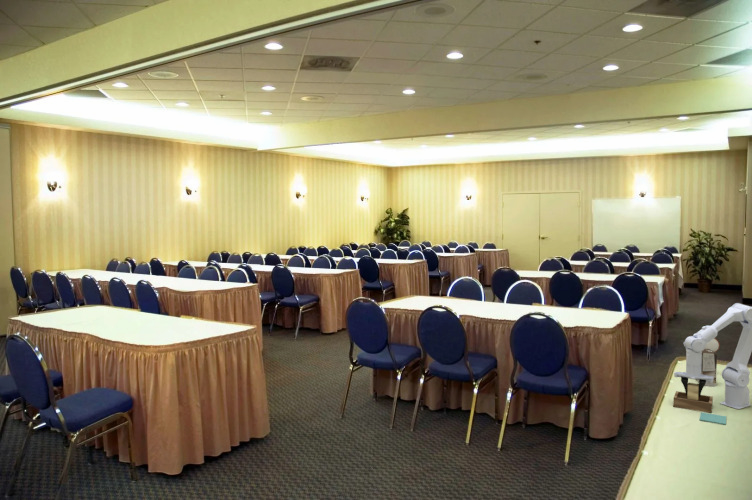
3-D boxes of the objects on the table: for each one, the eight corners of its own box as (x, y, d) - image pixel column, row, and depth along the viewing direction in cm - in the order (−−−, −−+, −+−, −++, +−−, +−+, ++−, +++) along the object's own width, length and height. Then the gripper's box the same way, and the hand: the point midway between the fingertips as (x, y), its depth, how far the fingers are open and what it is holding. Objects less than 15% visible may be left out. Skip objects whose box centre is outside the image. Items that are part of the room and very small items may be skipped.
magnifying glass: (719, 375, 276) (720, 337, 274) (718, 376, 275) (719, 337, 273) (699, 373, 281) (700, 335, 280) (699, 373, 280) (700, 335, 278)
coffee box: (716, 386, 260) (717, 353, 259) (701, 385, 262) (702, 353, 260) (709, 380, 269) (709, 348, 268) (694, 380, 270) (695, 348, 269)
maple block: (688, 395, 238) (688, 382, 238) (698, 397, 236) (699, 383, 235) (687, 398, 235) (687, 385, 234) (698, 400, 233) (698, 386, 232)
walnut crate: (675, 399, 244) (676, 391, 244) (712, 405, 236) (712, 396, 236) (673, 406, 236) (673, 397, 236) (711, 413, 228) (711, 403, 228)
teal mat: (700, 413, 228) (700, 412, 228) (726, 417, 223) (726, 416, 223) (699, 420, 220) (699, 419, 220) (725, 425, 215) (725, 423, 215)
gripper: (673, 364, 235) (673, 395, 236) (713, 369, 227) (712, 401, 228) (675, 360, 241) (674, 390, 242) (713, 365, 233) (713, 396, 234)
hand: (693, 395), depth 235 cm, fingers closed on maple block, 4 cm apart
